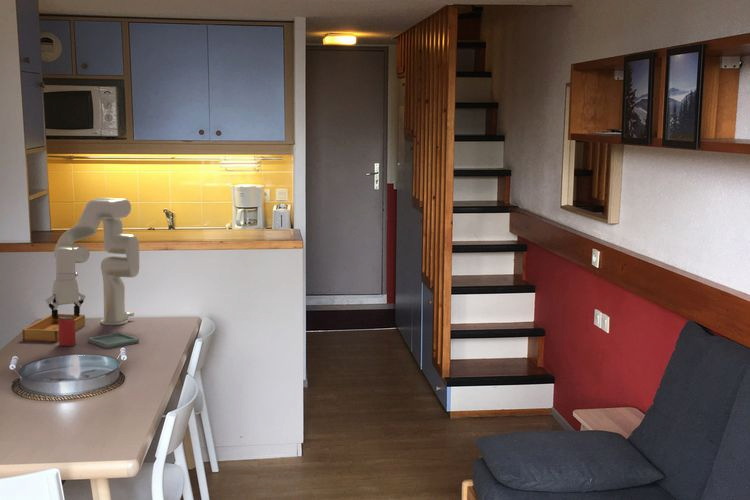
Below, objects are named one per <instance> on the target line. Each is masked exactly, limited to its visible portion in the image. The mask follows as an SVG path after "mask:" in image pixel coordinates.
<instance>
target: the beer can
mask: <svg viewBox="0 0 750 500" xmlns="http://www.w3.org/2000/svg"><path fill="white" fill-rule="evenodd" d="M75 344H76V331H75V320H74V317H73V316H61V317H60V319H59V341H58V345H59V346H61V347H72V346H74V345H75Z"/></svg>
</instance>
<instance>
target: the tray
mask: <svg viewBox="0 0 750 500" xmlns="http://www.w3.org/2000/svg"><path fill="white" fill-rule="evenodd" d="M61 316H73V317H74V320H75V332H76V331H77V330H79V329H81V328H82V327H83V326H85V325H86V315H85V314H79V316H75V315H74V313H58V319H53V318H52V313H51V314H50V315H48V316H46V317H43V318H42V319H40V320H38V321H36V322H34V323H32V324H31V325H29V326H26V327H25V328H22V341H29V342H52V341H56V343H58V342H59V319H60V317H61ZM57 341H58V342H57Z"/></svg>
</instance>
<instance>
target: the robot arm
mask: <svg viewBox="0 0 750 500" xmlns="http://www.w3.org/2000/svg"><path fill="white" fill-rule="evenodd" d="M131 210H132V205H131V202H130V201H129V200H128V199H127V198H122V197H121V198H120V197H119V198H118V197H117V198H116V197H97V198H94V199H91V200H88V202H87V203H86V205H85V207H84V209H83V210H82V213H81V215H80V218H79V219H78V222H77V223H76V224H75V225H74V226H73V225H72V227H71V228H68V230H66V231H64V232H63V233H62V234H61V236H60V237H59V239H58V240H57V242H56V244H55V247H54V249H53V250H54V251H53V258H54V259H55V280H53V284H52V292H51V296H49V297H47V298H45V300H44V301H45V303H46V304H47V306H48V308H50V309H51V314H52V318H53V319H58V314H59V310H58V307H59V306H62V305H70V304H71V305H72V304H74V306H73V314H74V315H75V316H79V315H81V307H82V304H83V303H84V302H85V298H86V295H85V294H82V293H80V292H79V286H78V284H79V283H78V280H77V279H76V277H78V276H79V275H78V272H76V264H84V263H85V262H87V261H88V260H89V258H90V255H91V254H90V250H89V248H88V247H86V246H85V245H80V244H79V245H78V244H77V245H75V244H74V243H75V242H77V241H80V240H82V239H87V238H89V237H91V236H94V235H95V234H96V233H97V231H98V229H99V226H100V224H101V223H102V226H103V227H102V229H103V248H104V252H106V253H108V254H114V255H112V256H111V255H110V256H106V257H104V258H103V259H102V260H101V263H100V272H101V276H102V281H103V283H102V285H103V286H102V287H103V318H102V319H100V324H101V325H107V326H119V325H125V324H127V323H129V319H128V318H130V317H134V316H135V313H134V312H132V311H131V312H128V311H126V308H125V307H126V306H125V305H126V304H125V303H126V301H125V300H126V298H125V293H126V292H125V291H126V290H125V282H124V281H123V279H122V278H135V277H137V276H138V275H139V273H140V242H139V239H138V237H137V236H136V235H135V234H131V233H124V232H123V221H122V220H121V219H122V218H123V219H124V218H127V217H128V216H129V215H130V213H131V212H132V211H131ZM115 255H117V256H115ZM119 255H125V256H119Z"/></svg>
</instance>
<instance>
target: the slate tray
mask: <svg viewBox="0 0 750 500" xmlns="http://www.w3.org/2000/svg"><path fill="white" fill-rule="evenodd" d="M87 339H88V340H87V342H88V343H89V344H92V345H95V346H98V347H101V348H105V349H113V348H114V349H115V348H119V347H122V346H123V347H124V346H128V345H133V344H137V343H138V344H139V343H140V341H139V340H140V339H139V337H138V338H137V337H135V336H131V335H129V334H126V333H125V334H124V333H123V332H115V333H109V334H104V335H99V336H93V337H92V336H91V337H88V338H87Z"/></svg>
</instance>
